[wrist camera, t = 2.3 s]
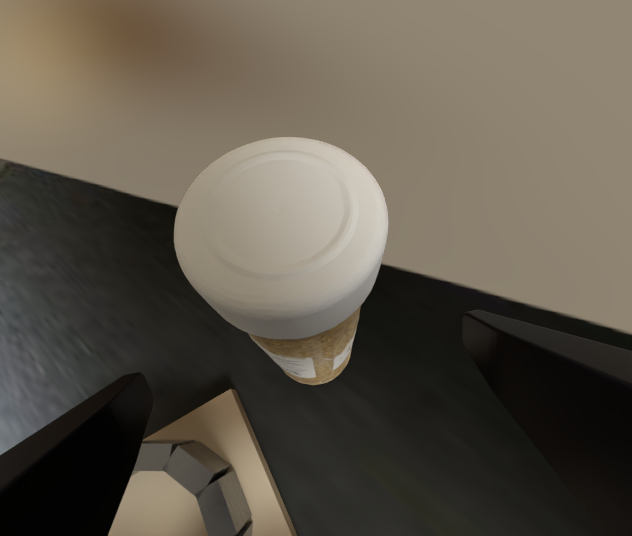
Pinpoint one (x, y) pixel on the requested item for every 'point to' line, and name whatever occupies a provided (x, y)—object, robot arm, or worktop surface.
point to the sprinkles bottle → (286, 248)
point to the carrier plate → (180, 505)
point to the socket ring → (201, 482)
